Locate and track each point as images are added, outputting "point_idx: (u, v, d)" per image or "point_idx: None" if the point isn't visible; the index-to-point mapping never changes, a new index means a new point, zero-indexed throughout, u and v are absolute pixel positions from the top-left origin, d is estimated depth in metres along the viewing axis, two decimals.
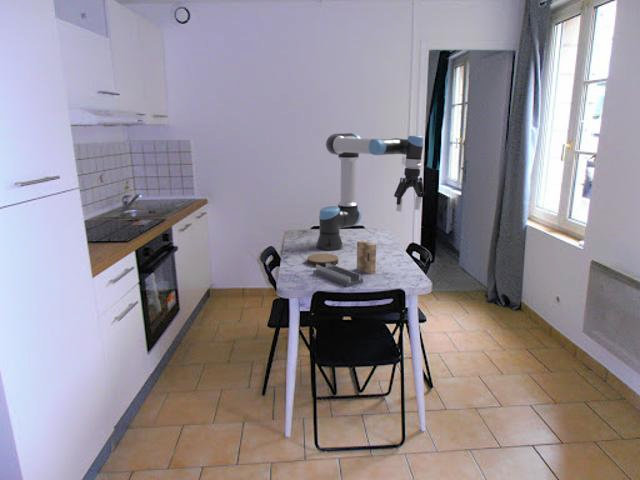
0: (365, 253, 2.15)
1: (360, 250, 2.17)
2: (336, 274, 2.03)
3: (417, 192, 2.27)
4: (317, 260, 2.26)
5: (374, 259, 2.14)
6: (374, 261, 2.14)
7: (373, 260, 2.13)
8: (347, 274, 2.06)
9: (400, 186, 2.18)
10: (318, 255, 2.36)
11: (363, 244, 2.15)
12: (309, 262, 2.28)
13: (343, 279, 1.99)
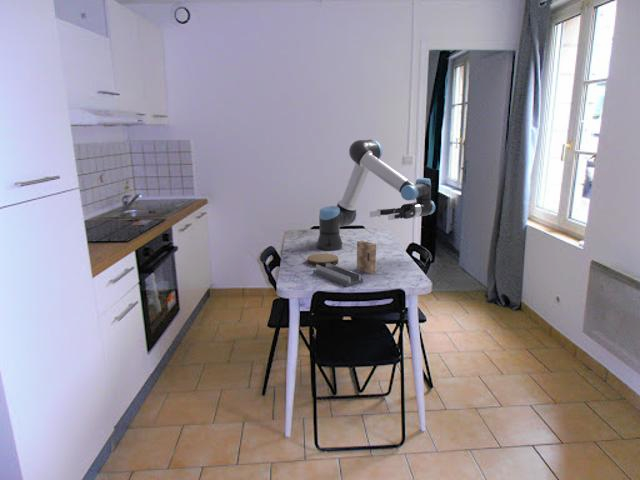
0: (365, 253, 2.15)
1: (360, 250, 2.17)
2: (336, 274, 2.03)
3: (384, 212, 2.28)
4: (317, 260, 2.26)
5: (374, 259, 2.14)
6: (374, 261, 2.14)
7: (373, 260, 2.13)
8: (347, 274, 2.06)
9: (409, 215, 2.19)
10: (318, 255, 2.36)
11: (363, 244, 2.15)
12: (309, 262, 2.28)
13: (343, 279, 1.99)
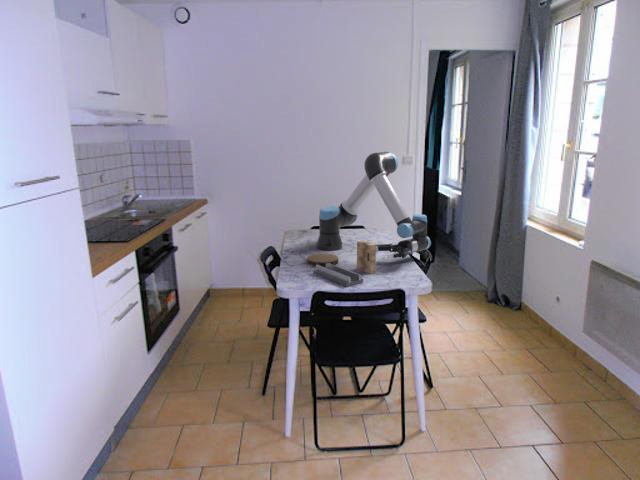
0: (365, 253, 2.15)
1: (360, 250, 2.17)
2: (336, 274, 2.03)
3: (382, 249, 2.31)
4: (317, 260, 2.26)
5: (374, 259, 2.14)
6: (374, 261, 2.14)
7: (373, 260, 2.13)
8: (347, 274, 2.06)
9: (407, 253, 2.22)
10: (318, 255, 2.36)
11: (363, 244, 2.15)
12: (309, 262, 2.28)
13: (343, 279, 1.99)
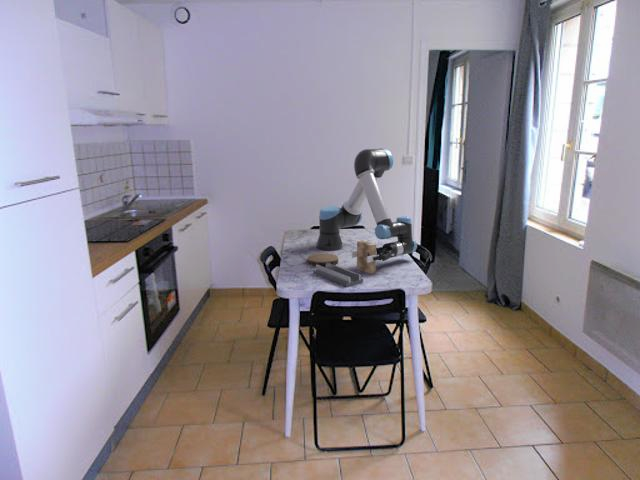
0: (365, 253, 2.15)
1: (360, 250, 2.17)
2: (336, 274, 2.03)
3: None
4: (317, 260, 2.26)
5: None
6: (374, 261, 2.14)
7: None
8: (347, 274, 2.06)
9: (389, 256, 2.16)
10: (318, 255, 2.36)
11: (363, 244, 2.15)
12: (309, 262, 2.28)
13: (343, 279, 1.99)
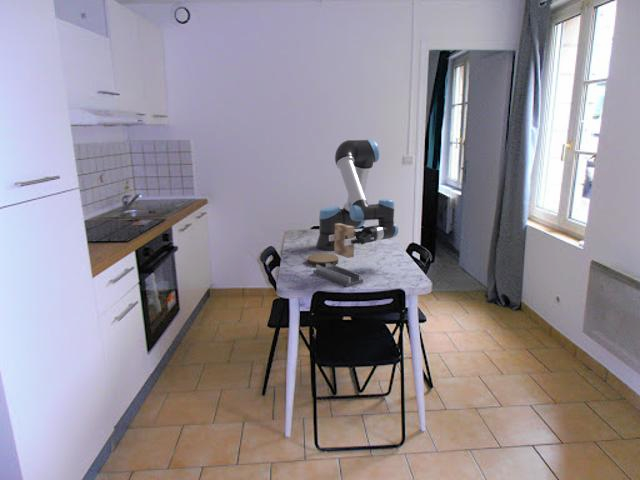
0: (343, 236, 2.03)
1: (338, 233, 2.05)
2: (336, 274, 2.03)
3: None
4: (317, 260, 2.26)
5: None
6: (352, 244, 2.02)
7: None
8: (347, 274, 2.06)
9: (368, 240, 2.04)
10: (318, 255, 2.36)
11: (341, 226, 2.03)
12: (309, 262, 2.29)
13: (343, 279, 1.99)
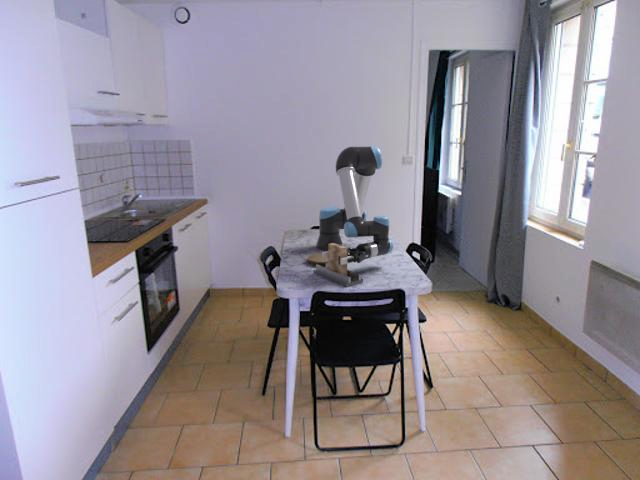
0: (336, 256, 2.04)
1: (331, 253, 2.06)
2: (336, 274, 2.03)
3: None
4: (317, 260, 2.26)
5: None
6: (345, 265, 2.03)
7: (344, 264, 2.02)
8: (347, 274, 2.06)
9: (363, 258, 2.05)
10: (318, 255, 2.36)
11: (334, 247, 2.04)
12: (309, 262, 2.29)
13: (343, 279, 1.99)
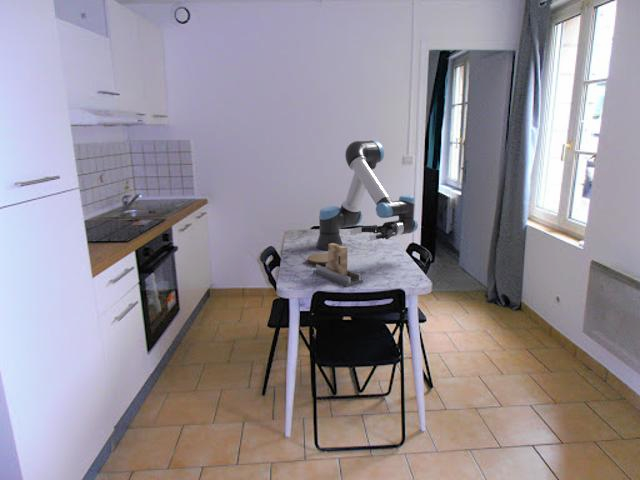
0: (336, 256, 2.04)
1: (331, 253, 2.06)
2: (336, 274, 2.03)
3: (366, 230, 2.21)
4: (317, 260, 2.26)
5: (345, 263, 2.03)
6: (345, 265, 2.03)
7: (344, 264, 2.02)
8: (347, 274, 2.06)
9: (391, 235, 2.12)
10: (318, 255, 2.36)
11: (334, 247, 2.04)
12: (309, 262, 2.29)
13: (343, 279, 1.99)
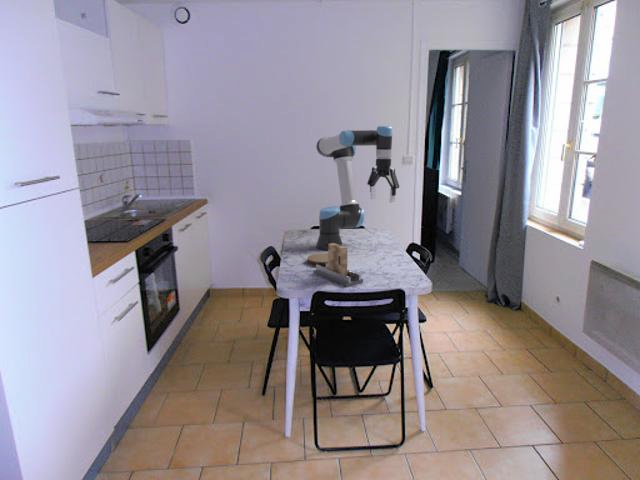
0: (336, 256, 2.04)
1: (331, 253, 2.06)
2: (336, 274, 2.03)
3: None
4: (317, 260, 2.26)
5: (345, 263, 2.03)
6: (345, 265, 2.03)
7: (344, 264, 2.02)
8: (347, 274, 2.06)
9: None
10: (318, 255, 2.36)
11: (334, 247, 2.04)
12: (309, 262, 2.29)
13: (343, 279, 1.99)
